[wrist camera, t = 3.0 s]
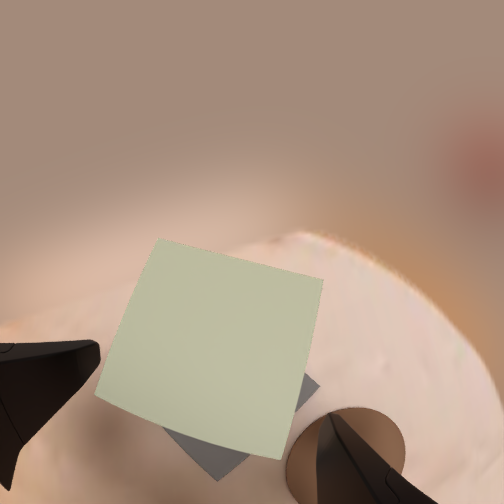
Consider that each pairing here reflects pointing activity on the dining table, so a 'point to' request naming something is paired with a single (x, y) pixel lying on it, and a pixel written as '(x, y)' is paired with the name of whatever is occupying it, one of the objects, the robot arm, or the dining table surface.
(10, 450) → the robot arm
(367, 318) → the dining table surface
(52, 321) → the dining table surface
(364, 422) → the disc
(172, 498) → the dining table surface
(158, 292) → the carton
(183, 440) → the mat
